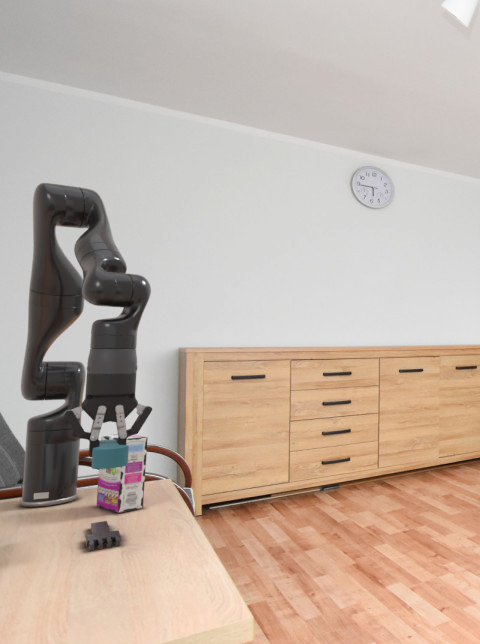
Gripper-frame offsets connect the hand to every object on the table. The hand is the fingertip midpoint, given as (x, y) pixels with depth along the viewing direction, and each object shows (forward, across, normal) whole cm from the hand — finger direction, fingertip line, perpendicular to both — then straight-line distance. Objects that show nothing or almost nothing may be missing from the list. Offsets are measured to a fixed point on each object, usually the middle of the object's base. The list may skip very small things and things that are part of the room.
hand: (106, 457), depth 111 cm
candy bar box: (+15, -4, -22) cm, 27 cm away
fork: (+15, 0, +2) cm, 15 cm away
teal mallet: (+1, 0, +3) cm, 3 cm away
